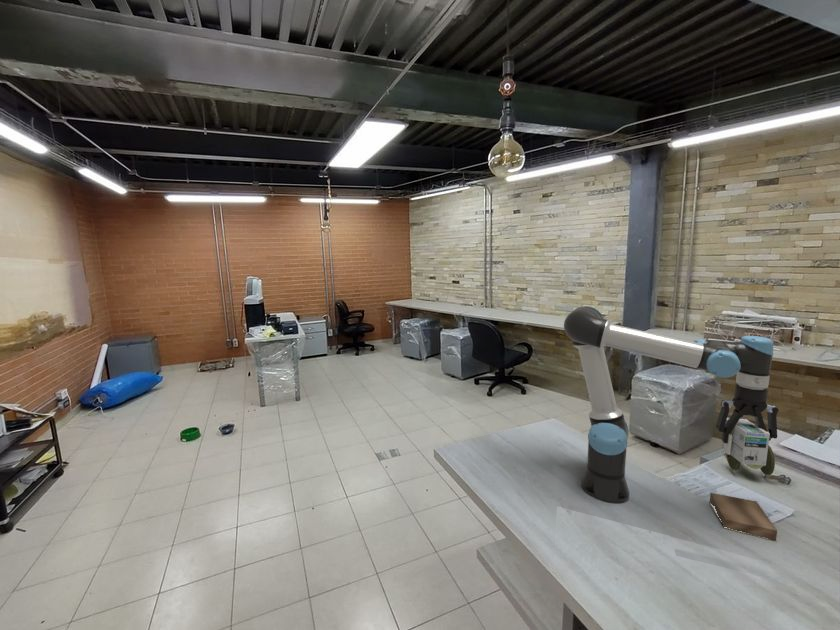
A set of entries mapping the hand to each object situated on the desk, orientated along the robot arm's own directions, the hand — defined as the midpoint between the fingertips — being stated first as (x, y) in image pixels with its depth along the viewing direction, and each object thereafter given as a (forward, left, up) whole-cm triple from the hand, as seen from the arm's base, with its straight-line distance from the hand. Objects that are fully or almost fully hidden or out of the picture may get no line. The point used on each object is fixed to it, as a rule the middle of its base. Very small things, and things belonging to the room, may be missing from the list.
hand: (742, 454), depth 118 cm
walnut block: (-1, -7, -20) cm, 21 cm away
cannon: (+13, +36, -20) cm, 44 cm away
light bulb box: (0, 0, -1) cm, 1 cm away
